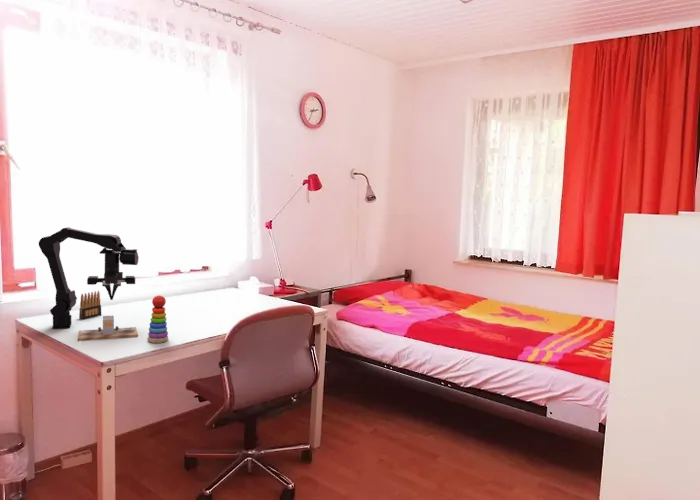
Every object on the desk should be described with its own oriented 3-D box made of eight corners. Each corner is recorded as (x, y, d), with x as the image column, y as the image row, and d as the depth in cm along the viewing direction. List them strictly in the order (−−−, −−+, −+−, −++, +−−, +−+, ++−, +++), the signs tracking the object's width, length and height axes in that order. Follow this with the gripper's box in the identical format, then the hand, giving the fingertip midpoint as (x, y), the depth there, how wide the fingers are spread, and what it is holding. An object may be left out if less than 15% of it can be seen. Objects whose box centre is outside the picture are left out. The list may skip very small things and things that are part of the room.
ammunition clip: (98, 314, 246) (98, 290, 244) (101, 315, 245) (101, 290, 244) (79, 319, 236) (79, 293, 235) (82, 319, 235) (81, 294, 234)
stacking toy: (143, 342, 206) (143, 296, 204) (154, 337, 214) (154, 292, 212) (161, 344, 205) (162, 298, 203) (171, 339, 213) (172, 294, 211)
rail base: (77, 340, 204) (77, 333, 204) (78, 332, 215) (78, 325, 214) (137, 336, 214) (138, 329, 213) (136, 329, 224) (136, 322, 224)
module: (103, 335, 210) (103, 320, 209) (102, 330, 216) (102, 316, 216) (113, 334, 212) (113, 319, 211) (113, 329, 218) (113, 315, 217)
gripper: (86, 266, 211) (86, 304, 213) (135, 266, 219) (135, 303, 220) (88, 263, 221) (87, 298, 223) (135, 263, 229) (134, 297, 230)
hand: (111, 299), depth 224 cm, fingers closed
